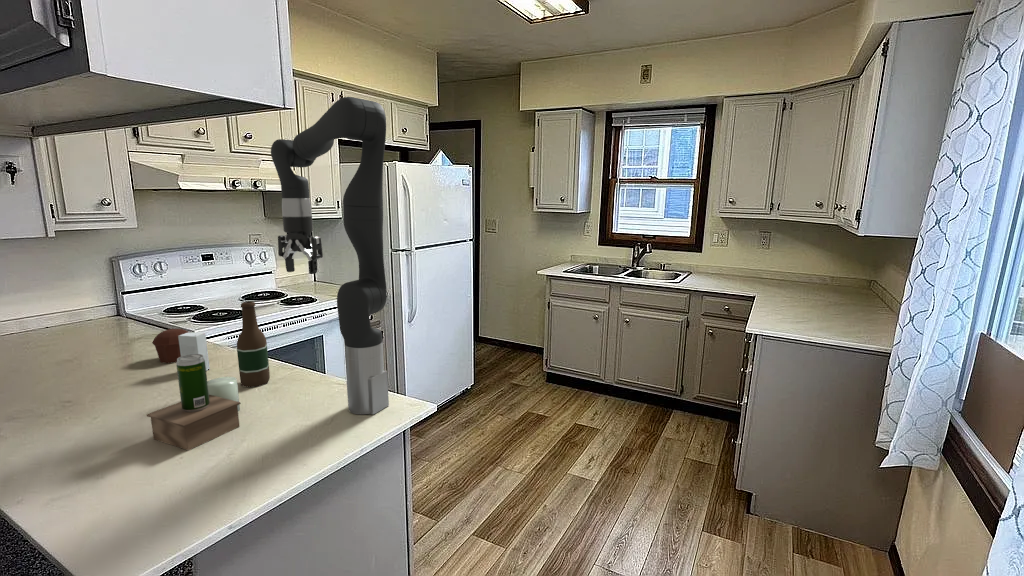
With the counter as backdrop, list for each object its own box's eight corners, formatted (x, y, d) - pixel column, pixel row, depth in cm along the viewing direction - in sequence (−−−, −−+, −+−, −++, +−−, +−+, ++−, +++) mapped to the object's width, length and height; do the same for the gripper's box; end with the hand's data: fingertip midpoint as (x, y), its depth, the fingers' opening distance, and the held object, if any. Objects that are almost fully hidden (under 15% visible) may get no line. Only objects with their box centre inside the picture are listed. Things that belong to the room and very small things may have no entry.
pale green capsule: (246, 408, 124) (243, 379, 123) (220, 420, 118) (216, 388, 117) (227, 404, 127) (224, 375, 126) (201, 414, 121) (197, 384, 119)
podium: (242, 426, 115) (240, 402, 114) (187, 452, 103) (184, 425, 102) (206, 416, 120) (203, 393, 119) (149, 439, 108) (146, 414, 107)
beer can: (215, 405, 112) (209, 355, 110) (190, 415, 107) (184, 363, 105) (201, 401, 114) (195, 352, 112) (176, 409, 110) (170, 359, 107)
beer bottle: (243, 390, 136) (235, 306, 132) (238, 382, 142) (229, 301, 138) (273, 383, 141) (266, 302, 137) (266, 375, 147) (259, 298, 143)
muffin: (147, 365, 157) (142, 335, 155) (166, 354, 167) (162, 326, 166) (186, 363, 158) (182, 333, 156) (203, 353, 169) (200, 325, 167)
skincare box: (210, 369, 153) (206, 332, 151) (200, 374, 149) (196, 336, 146) (192, 368, 153) (187, 331, 151) (182, 373, 149) (177, 335, 147)
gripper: (327, 215, 135) (330, 272, 138) (289, 214, 141) (293, 269, 144) (305, 215, 129) (310, 276, 132) (267, 214, 134) (272, 273, 137)
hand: (301, 272), depth 138 cm, fingers open, 8 cm apart
